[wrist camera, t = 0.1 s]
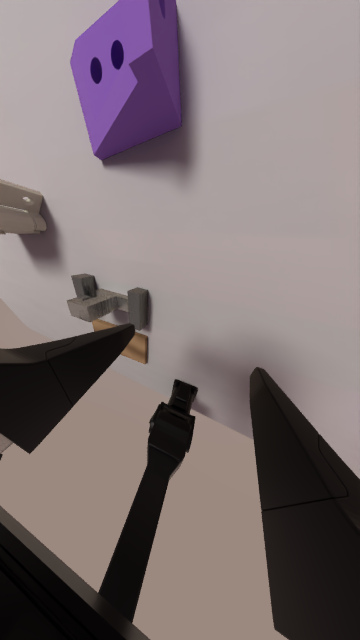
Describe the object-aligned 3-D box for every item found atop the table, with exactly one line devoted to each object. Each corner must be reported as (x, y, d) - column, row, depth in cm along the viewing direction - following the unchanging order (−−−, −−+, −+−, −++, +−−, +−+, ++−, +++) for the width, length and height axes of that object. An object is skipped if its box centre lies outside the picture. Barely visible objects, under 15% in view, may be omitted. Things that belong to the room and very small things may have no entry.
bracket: (177, 9, 11) (126, -237, 6) (182, 128, 14) (152, 47, 9) (83, 78, 15) (-4, -26, 9) (103, 161, 18) (46, 120, 13)
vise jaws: (147, 324, 29) (139, 330, 26) (92, 306, 32) (81, 310, 30) (147, 290, 25) (139, 294, 22) (85, 273, 28) (71, 275, 26)
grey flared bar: (132, 309, 29) (103, 326, 22) (103, 300, 30) (68, 314, 24) (131, 297, 27) (100, 311, 20) (101, 288, 29) (63, 299, 22)
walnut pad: (147, 361, 35) (145, 364, 34) (100, 343, 39) (97, 345, 38) (147, 336, 31) (145, 338, 30) (94, 317, 34) (91, 319, 33)
